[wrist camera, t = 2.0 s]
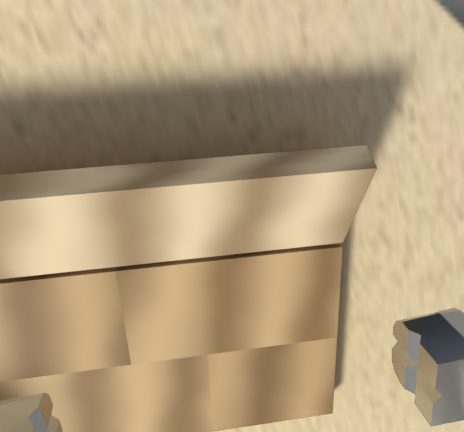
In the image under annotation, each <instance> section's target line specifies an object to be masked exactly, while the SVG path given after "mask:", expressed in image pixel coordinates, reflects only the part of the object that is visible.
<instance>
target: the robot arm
mask: <svg viewBox="0 0 464 432" xmlns="http://www.w3.org/2000/svg"><path fill="white" fill-rule="evenodd" d="M393 335H394V337H395V338H396V339H397V341H398V342H397V343H396V344H395V346H394V347H393V348H392V363H393V367H394V371H395V373H396V375H397V378H398V380H399V381H400V383H401V384H402V386H403V387H404V389H406V390H408V391H410V392H412V393H414V394H415V405H416V406H417V408H418V409H419V410H420V412H421V413H422V415H423V416H424V417H425V419H426V420H427V422H428V423H429V425H430V426H436V425H441V424H446V423H451V422H456V421H461V420H464V313H463V312H462V311H460V310H458V309H456V308H452V309H448V310H443V311H439V312H435V313H431V314H426V315H422V316H417V317H412V318H407V319H403V320H398V321H396V322H395V324H394V326H393ZM52 409H53V403H52V400H51V398H50V396H49V394H47V393H40V394H35V395H29V396H24V397H18V398H13V399H7V400H2V401H0V432H63V431H62V426H61V424H60V421H59V419H57V418H56V417H54V416H52V415H51V413H52Z"/></svg>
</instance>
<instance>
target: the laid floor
mask: <svg viewBox="0 0 464 432" xmlns="http://www.w3.org/2000/svg"><path fill="white" fill-rule="evenodd" d="M342 248H343V247H342V246H341V245H340V243H336V244H326V245H317V246H308V247H298V248H289V249H279V250H270V251H261V252H251V253H242V254H232V255H223V256H214V257H204V258H195V259H185V260H176V261H167V262H157V263H148V264H138V265H129V266H120V267H110V268H101V269H91V270H82V271H73V272H63V273H54V274H44V275H35V276H26V277H16V278H7V279H0V401H2V400H7V399H13V398H18V397H24V396H29V395H35V394H40V393H47V394H49V396H50V398H51V400H52V403H53V409H52V413H51V415H52V416H54V417H56V418H57V419H59V421H60V424H61V426H62V431H63V432H213V431H219V430H226V429H232V428H239V427H246V426H252V425H259V424H265V423H272V422H279V421H285V420H292V419H298V418H305V417H311V416H318V415H325V414H331V413H333V398H334V382H335V365H336V348H337V332H338V315H339V298H340V282H341V265H342Z"/></svg>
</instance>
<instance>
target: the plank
mask: <svg viewBox="0 0 464 432" xmlns="http://www.w3.org/2000/svg"><path fill="white" fill-rule="evenodd" d="M376 169H377V167H376V165H375V163H374V160H373V158H372V156H371V154H370V151H369V149H368V147H367V145H362V146H349V147H337V148H325V149H312V150H300V151H288V152H275V153H263V154H250V155H238V156H226V157H213V158H201V159H188V160H176V161H164V162H151V163H139V164H127V165H114V166H102V167H89V168H77V169H65V170H52V171H40V172H27V173H15V174H3V175H0V279H7V278H16V277H26V276H35V275H44V274H54V273H63V272H73V271H82V270H91V269H101V268H110V267H120V266H129V265H138V264H148V263H157V262H167V261H176V260H185V259H195V258H204V257H214V256H223V255H232V254H242V253H251V252H261V251H270V250H279V249H289V248H298V247H308V246H317V245H326V244H336V243H343V241H344V239H345V237H346V235H347V233H348V230H349V228H350V226H351V224H352V222H353V219H354V217H355V215H356V213H357V211H358V209H359V206H360V204H361V202H362V200H363V198H364V195H365V193H366V191H367V189H368V187H369V184H370V182H371V180H372V178H373V176H374V174H375V171H376Z"/></svg>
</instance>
